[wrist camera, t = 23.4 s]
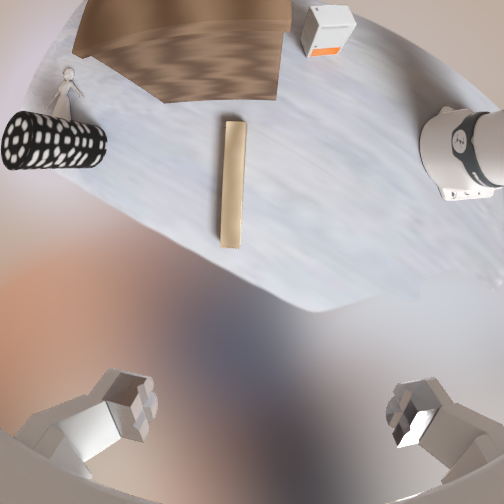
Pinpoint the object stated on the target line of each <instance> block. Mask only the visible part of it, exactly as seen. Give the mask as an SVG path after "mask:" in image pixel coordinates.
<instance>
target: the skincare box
mask: <svg viewBox="0 0 504 504" xmlns="http://www.w3.org/2000/svg"><path fill="white" fill-rule="evenodd" d="M356 25H357V23H356V21H355V19H354V17H353V15H352V13H351V11H350V9H349V6H348V5H314V6H309V9H308V13H307V17H306V21H305V24H304V28H303V32H302V35H301V39H300V40H301V43H302V46H303V49H304V51H305V54H306V57H307V58H309V57H317V56H329V55H338V54H339V52H340V51H341V49H342V47H343V46H344V44H345V43H346V41H347V39H348V38H349V36H350V35H351V33H352V32H353V30H354V29H355V27H356Z"/></svg>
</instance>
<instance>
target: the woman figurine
mask: <svg viewBox="0 0 504 504" xmlns="http://www.w3.org/2000/svg"><path fill="white" fill-rule="evenodd" d="M63 74H64V76H63V77H64V79H65V80H64V81H63V82H62V83H61V85H60V87H59V89H58V92H57V93H56V94H55V96H54V97H53V99H52V100H51V102H50V103H49V104H48V105H47V107H46V108H45V110H47V109H48V108H49V106H50V104H51V103H52V102H53V100H54V99H55V98H56V97H57V96H58V95H59V93H60V97H59V99H58V101H57V103H56V105H55V108H54V111H53V114H52V116H53V117H58V118H63V119H67V120H71V114H70V102H69V98H68V96H67V93H68V91H69V89H70V88H71V87H72V88H73V89H74V90H75V91H76V92H77V93H78V94H79V97H80V96H82V97H83V95H82V94H81V93H80V92H79V91H78V89H77V88H76V87H75V86H74V84H73V83H74V82H72V81H70V80H72V79H73V78H74V70H73V69H71V68H68V69H65V70H64V72H63ZM83 98H84V97H83Z"/></svg>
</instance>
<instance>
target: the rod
mask: <svg viewBox="0 0 504 504" xmlns="http://www.w3.org/2000/svg"><path fill="white" fill-rule="evenodd" d="M246 135H247V123H246V122H239V121H226V135H225V151H224V169H223V188H222V211H221V238H220V247H223V248H238V249H239V247H240V245H241V225H242V206H243V187H244V169H245V152H246Z"/></svg>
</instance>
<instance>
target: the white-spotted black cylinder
mask: <svg viewBox="0 0 504 504" xmlns="http://www.w3.org/2000/svg"><path fill="white" fill-rule="evenodd" d="M106 150H107V137H106V134H105V132H104V131H103V130H102V129H101V128H100V127H97V126H93V125H89V124H85V123H80V122H76V121H72V120H67V119H63V118H58V117H53V116H48V115H43V114H38V113H32V112H27V111H20V112H18V113H16V114H15V115H14V116H13V117H12V118H11V119H10V121H9V122H8V124H7V126H6V128H5V131H4V134H3V137H2V143H1V156H2V160H3V163H4V165H5V167H6V168H7V169H9V170H26V169H55V168H92V167H95V166H96V165H98V164H99V163H100V162H101V160H102V159H103V157H104V155H105V153H106Z"/></svg>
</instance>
